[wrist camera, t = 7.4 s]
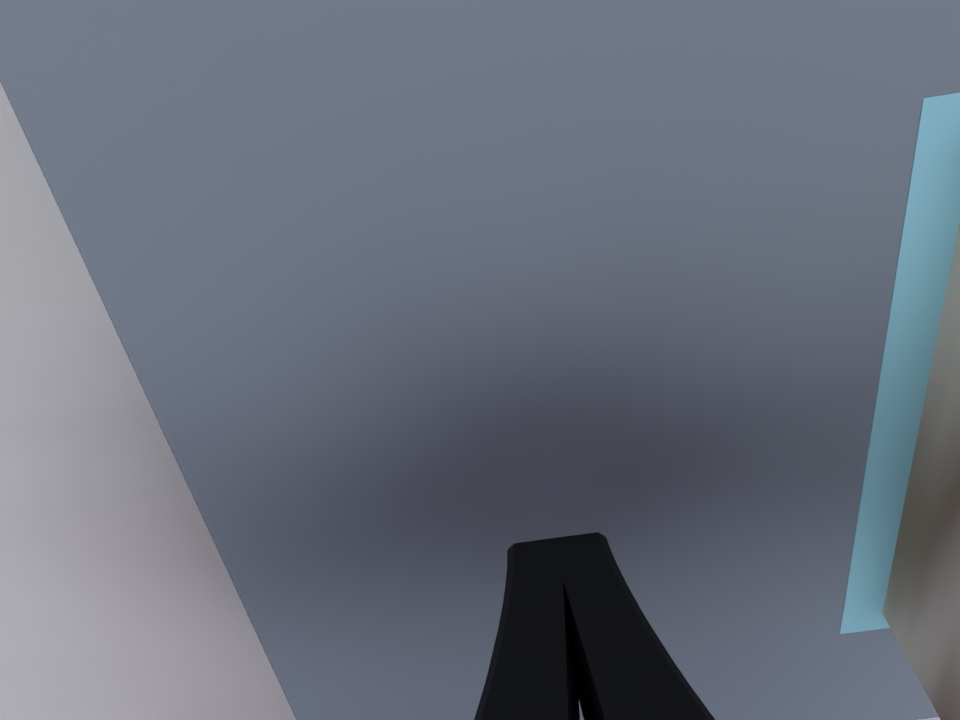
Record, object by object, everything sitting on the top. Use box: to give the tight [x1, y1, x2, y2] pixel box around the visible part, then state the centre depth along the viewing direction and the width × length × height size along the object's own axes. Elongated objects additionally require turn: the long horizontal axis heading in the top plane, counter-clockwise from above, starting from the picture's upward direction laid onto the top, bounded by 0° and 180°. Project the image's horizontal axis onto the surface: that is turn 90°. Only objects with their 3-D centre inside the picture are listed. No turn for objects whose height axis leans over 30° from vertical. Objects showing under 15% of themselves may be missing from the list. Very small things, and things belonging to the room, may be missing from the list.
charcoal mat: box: [0, 0, 960, 720], centre depth 14 cm, size 18×26×1 cm
